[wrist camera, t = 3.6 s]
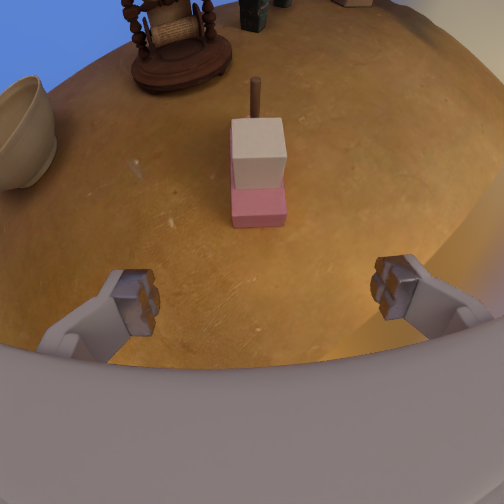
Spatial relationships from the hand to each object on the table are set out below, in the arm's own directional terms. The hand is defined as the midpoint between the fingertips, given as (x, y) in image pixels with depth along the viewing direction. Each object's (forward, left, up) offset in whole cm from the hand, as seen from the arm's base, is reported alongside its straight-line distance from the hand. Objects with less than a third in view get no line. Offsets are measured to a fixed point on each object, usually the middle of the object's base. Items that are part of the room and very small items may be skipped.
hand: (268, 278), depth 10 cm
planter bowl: (+36, +12, -16) cm, 41 cm away
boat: (+9, -8, -16) cm, 20 cm away
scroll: (+32, -14, -16) cm, 38 cm away
